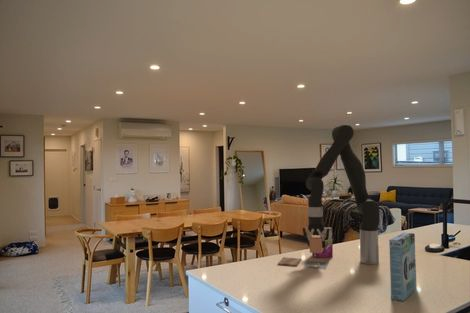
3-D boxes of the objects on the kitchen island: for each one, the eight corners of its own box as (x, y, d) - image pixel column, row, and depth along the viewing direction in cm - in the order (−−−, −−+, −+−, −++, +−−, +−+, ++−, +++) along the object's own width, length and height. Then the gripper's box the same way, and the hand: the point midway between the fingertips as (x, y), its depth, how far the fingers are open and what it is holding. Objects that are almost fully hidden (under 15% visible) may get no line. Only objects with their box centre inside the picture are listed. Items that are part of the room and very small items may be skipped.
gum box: (403, 301, 137) (402, 241, 138) (389, 298, 141) (388, 239, 141) (417, 288, 152) (415, 233, 153) (404, 285, 156) (402, 232, 156)
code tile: (328, 262, 194) (328, 262, 194) (325, 269, 181) (325, 269, 181) (307, 260, 197) (307, 260, 197) (303, 267, 184) (303, 267, 184)
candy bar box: (312, 257, 204) (312, 228, 204) (311, 255, 209) (311, 227, 209) (333, 258, 202) (332, 228, 203) (331, 255, 207) (331, 227, 208)
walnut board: (301, 260, 198) (301, 258, 198) (296, 266, 186) (296, 264, 186) (283, 259, 202) (283, 257, 202) (277, 265, 189) (277, 263, 189)
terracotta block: (323, 249, 192) (323, 235, 192) (321, 253, 184) (321, 239, 184) (312, 248, 194) (311, 235, 194) (309, 252, 186) (309, 238, 186)
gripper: (330, 214, 191) (331, 246, 190) (302, 214, 195) (304, 245, 195) (329, 216, 184) (330, 250, 183) (300, 216, 188) (301, 248, 188)
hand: (316, 247), depth 189 cm, fingers closed on terracotta block, 6 cm apart
